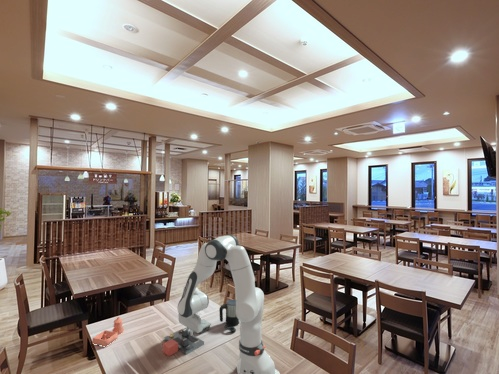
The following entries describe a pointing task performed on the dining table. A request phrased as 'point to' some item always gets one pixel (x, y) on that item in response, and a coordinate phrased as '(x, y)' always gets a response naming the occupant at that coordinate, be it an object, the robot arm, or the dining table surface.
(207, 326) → the electrical switch
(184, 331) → the breaker
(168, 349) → the lockout cap
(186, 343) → the block
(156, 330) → the dining table surface
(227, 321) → the milk frother
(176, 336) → the panel
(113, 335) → the pottery
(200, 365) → the dining table surface
